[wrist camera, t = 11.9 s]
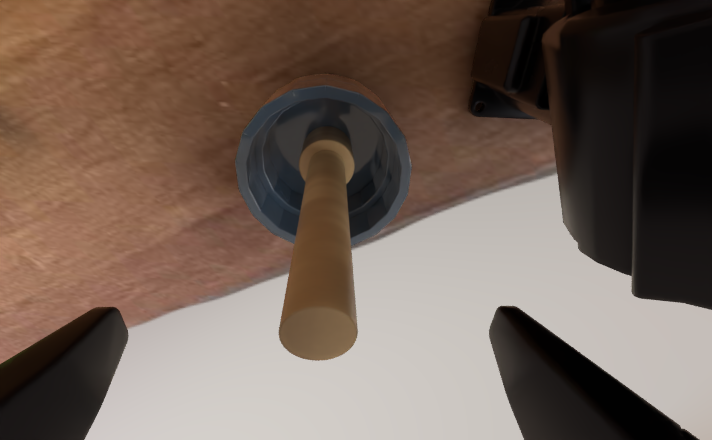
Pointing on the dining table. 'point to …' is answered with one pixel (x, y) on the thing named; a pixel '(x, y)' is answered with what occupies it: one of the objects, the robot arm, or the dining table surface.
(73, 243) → the dining table surface
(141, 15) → the dining table surface
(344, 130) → the bowl
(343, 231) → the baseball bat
